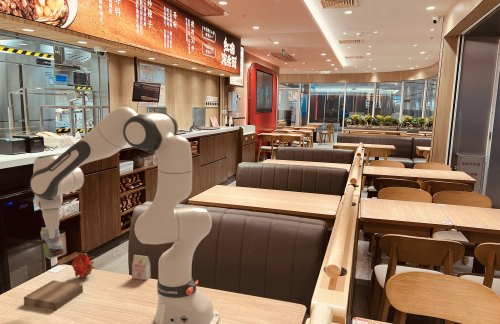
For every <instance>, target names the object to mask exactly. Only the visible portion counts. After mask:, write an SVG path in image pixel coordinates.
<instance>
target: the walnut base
mask: <svg viewBox="0 0 500 324" xmlns="http://www.w3.org/2000/svg"><path fill="white" fill-rule="evenodd" d="M83 293H84V288H83V284H78V283H71V282H65V281H59V280H51V281H49V282H48V283H46V284H44V285H42V286H40V287H39V288H37V289H35V290H34V291H32V292H30V293H28V294H27V295H25V296H24V297H23V305H24V306H29V307H35V308H38V309H39V308H40V309H45V310H50V311H57V310H59V309H60V308H62V307H64V306H65V305H66V304H68V303H70V302H72V300H74V299H75V298H77V297H78V296H80V295H81V294H83Z"/></svg>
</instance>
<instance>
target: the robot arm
mask: <svg viewBox="0 0 500 324" xmlns="http://www.w3.org/2000/svg"><path fill="white" fill-rule="evenodd" d="M178 125H179V124H178V122H177V120H176V118H175V117H173V116H172V115H171V114H169V113H167V112H152V111H151V112H145V113H141V114H138V112H136V111H135V110H134V109H133V108H131V107H128V106H120V107H117V108H115V109H114V110H112V111H111V112H109V113H108V114H107V115H106V116H104V117H103V118H102V119H101V120H100V121H99V122H98V123H97V124H96V125H95V126H94V127H93V128H92V129H90V131H89V132H88V133H86V134H85V135H84V136H83V137H81V139H79V140H77V142H75V143H74V144H73V145H72V146H70V147H69V148H68V149H66V150H65V151H64V152H63V153H62V154H60V155H59V156H58V155H57V154H56V155H55V154H51V155H43V156H38V157H36V158H35V159H34V163H33V168H32V169H33V172H32V173H33V174H32V175H31V178H30V180H29V181H30V183H29V187H30V190H31V191H32V193H33V194H34V202H35V203H34V204H35V206H37V207H38V208H39V210H41V211H42V218H43V220H44V225H45V227H46V228H47V230H48V231H49V238H50V239H51V238H55V230H57V229H58V228H59V226H60V208H62V203H63V195H65V194H68V193H72V192H76V191H77V190H80V189H82V187H84V184H85V173H84V171H83V169H82V168H81V166H83V165H85V164H89V163H92V162H94V161H99V160H103V159H106V158H109V157H111V156H113V155H115V154H117V153H119V152H120V151H121V150H123V148H124V147H125V146H126V145H127V144H128V145H129V146H131V147H132V148H134V149H138V150H142V151H143V152H146V153H149V154H153V153H155V154H156V156H157V157H156V158H157V186H156V192H155V196H154V199H153V201H152V202H151V204H150V205H149V207H147V208H146V210H145V211H144V212H142V213H141V214H139V216H138V217H137V218H136V221H135V222H134V223H135V224H134V234H135V236H136V238H137V239H138V241H139V243H141V244H144V245H145V244H146V245H160V244H161V245H162V244H168V243H169V244H170V243H173V244H172V245H171V246H170V247H169V248H168V249H167V250H166V251H164V252H163V253H162V254H161V256H160V257H159V259H158V279H157V284H156V285H157V286H156V287H157V295H158V297H157V298H158V299H157V306H156V312H155V316H154V323H155V324H218V323H219V321H220V320H221V319H220V317H221V316H220V315H221V314H220V312H219V311H218V310H216V309H214V306H213V302H212V300H211V299H210V298H209V297H207V295H205V294H204V293H203V292H202V291H200V290H199V289H198V288H197V285H198V284H199V280H198V279H197V280H196V281H195V280H194V279H193V277H192V267H193V266H192V265H193V264H192V263H193V257H194V253H195V251H196V249H197V247H198V245H199V244H200V243H201V241H202V240H203V239H204V238H205V237H206V236H208V235H209V233H210V231H211V230H212V227H213V226H212V225H213V219H212V215H211V214H210V212H209V211H208V210H207V209H206V208H204V207H194V206H189V207H181V208H180V207H177V206H178V204H179V203H181V202H183V201H184V200H186V199H187V198H189V196H190V195H191V193H192V191H193V155H192V148H191V143H190V142H189V140H188V139H187V138H186V137H184V136H182V135H181V136H180V135H177V134H178V131H179V129H178V128H179V126H178ZM176 207H177V208H176Z"/></svg>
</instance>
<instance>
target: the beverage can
mask: <svg viewBox="0 0 500 324" xmlns="http://www.w3.org/2000/svg"><path fill="white" fill-rule="evenodd" d="M40 237H41V241H42V247H43V251H44V256H45V258H47V259H55V258H59V257H60V256H63V254H64V247H63V243H62V237H61V233H60V228H59V227H58V229H57V230H55V238H51V239H50V238H49V231H48V230H47V228H46V226H44V227H41V230H40Z"/></svg>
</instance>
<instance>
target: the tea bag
mask: <svg viewBox="0 0 500 324" xmlns="http://www.w3.org/2000/svg"><path fill="white" fill-rule="evenodd" d="M151 273H152V271H151V262H150V258H149V256H148V255H140V254H139V255H137V254H133V257H132V262H131V279H132V280H139V281H144V282H145V281H148V280H149V279H150V278H152V275H151Z"/></svg>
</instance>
